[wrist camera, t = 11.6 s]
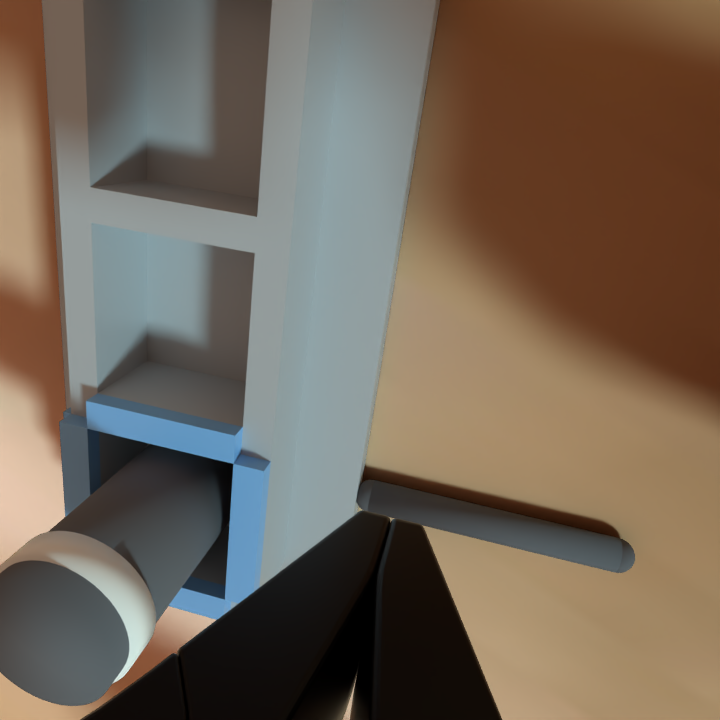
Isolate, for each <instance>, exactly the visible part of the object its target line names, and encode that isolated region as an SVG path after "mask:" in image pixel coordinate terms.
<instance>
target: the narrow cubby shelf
mask: <svg viewBox="0 0 720 720" xmlns="http://www.w3.org/2000/svg"><path fill="white" fill-rule="evenodd" d="M439 4H440V0H42V13H43V30H44V46H45V63H46V80H47V97H48V113H49V130H50V147H51V163H52V180H53V197H54V213H55V230H56V247H57V263H58V280H59V297H60V314H61V330H62V347H63V364H64V380H65V397H66V410H65V411H64V412H63V417H64V419H63V420H61V421H60V422H59V426H60V442H61V457H62V472H63V487H64V503H65V517H66V516H67V515H68V514H69V513H71V512H72V511H73V510H74V509H75V508H76V507H78V506H79V505H80V504H81V503H82V502H83V501H85V500H86V499H87V498H88V497H89V496H90V495H91V494H93V493H94V492H95V491H96V490H97V489H98V488H100V487H101V486H102V485H103V484H104V483H105V482H107V481H108V480H109V479H110V478H111V477H112V476H114V475H115V474H116V473H117V472H118V471H119V470H120V469H122V468H123V467H124V466H125V465H126V464H127V463H129V462H130V461H131V460H132V459H133V458H134V457H136V456H137V455H138V454H139V453H140V452H141V451H142V450H144V449H145V448H146V447H147V446H148V445H149V444H153V445H157V446H161V447H166V448H170V449H174V450H178V451H182V452H186V453H190V454H195V455H199V456H203V457H207V458H211V459H215V460H219V461H223V462H228V463H232V464H233V478H232V494H231V510H230V521H229V523H228V524H227V525H226V527H225V528H224V530H223V531H222V532H221V534H220V535H219V536H218V538H217V539H216V541H215V542H214V543H213V545H212V546H211V548H210V549H209V550H208V552H207V553H206V554H205V556H204V557H203V559H202V560H201V561H200V563H199V564H198V566H197V567H196V568H195V570H194V571H193V572H192V574H191V575H190V577H189V578H188V579H187V581H186V582H185V583H184V585H183V586H182V588H181V589H180V590H179V592H178V593H177V595H176V596H175V597H174V599H173V600H172V601H171V603H170V604H169V606H171V607H174V608H178V609H181V610H185V611H188V612H192V613H195V614H199V615H202V616H206V617H209V618H213V619H219V618H220V617H221V616H223V615H224V614H225V613H227V612H228V611H229V610H230V609H232V608H233V607H234V606H236V605H237V604H238V603H240V602H241V601H242V600H244V599H245V598H246V597H248V596H249V595H250V594H252V593H253V592H254V591H255V590H257V589H258V588H259V587H261V586H262V585H263V584H265V583H266V582H267V581H269V580H270V579H271V578H272V577H274V576H275V575H276V574H278V573H279V572H280V571H282V570H283V569H284V568H286V567H287V566H288V565H289V564H291V563H292V562H293V561H295V560H296V559H297V558H299V557H300V556H301V555H303V554H304V553H305V552H307V551H308V550H309V549H310V548H312V547H313V546H314V545H316V544H317V543H318V542H320V541H321V540H322V539H324V538H325V537H326V536H327V535H329V534H330V533H331V532H333V531H334V530H335V529H337V528H338V527H339V526H341V525H342V524H343V523H344V522H346V521H347V520H348V519H350V518H351V517H352V516H354V515H355V514H356V513H357V510H358V504H357V502H356V498H357V493H358V489H359V486H360V484H361V483H362V479H363V473H364V467H365V461H366V454H367V448H368V442H369V436H370V430H371V424H372V417H373V411H374V405H375V399H376V393H377V387H378V380H379V374H380V368H381V362H382V356H383V350H384V343H385V337H386V331H387V325H388V319H389V313H390V306H391V300H392V294H393V288H394V282H395V276H396V270H397V263H398V257H399V251H400V245H401V239H402V233H403V226H404V220H405V214H406V208H407V202H408V196H409V189H410V183H411V177H412V171H413V165H414V159H415V152H416V146H417V140H418V134H419V128H420V122H421V115H422V109H423V103H424V97H425V91H426V85H427V78H428V72H429V66H430V60H431V54H432V48H433V41H434V35H435V29H436V23H437V17H438V11H439Z"/></svg>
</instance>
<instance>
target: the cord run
mask: <svg viewBox="0 0 720 720" xmlns="http://www.w3.org/2000/svg"><path fill="white" fill-rule="evenodd" d="M356 502H357V504H358V505H359V507H360V508H361V509H363V510H364V511H369V512H373V513H377V514H381V515H385V516H388V517H391V518H396V519H401V520H406V521H410V522H414V523H418V524H421V525H424V526H428V527H432V528H436V529H440V530H444V531H448V532H452V533H456V534H460V535H464V536H468V537H472V538H477V539H481V540H485V541H489V542H493V543H497V544H501V545H505V546H509V547H513V548H517V549H521V550H525V551H530V552H534V553H538V554H542V555H546V556H550V557H554V558H558V559H562V560H566V561H570V562H574V563H578V564H583V565H587V566H591V567H595V568H599V569H603V570H607V571H611V572H616V573H622V572H626V571H627V570H629V569H630V568H631V567H632V566H633V564H634V561H635V554H634V550H633V548H632V547H631V545H630V544H629V543H628V542H626V541H625V540H623V539H620V538H617V537H613V536H608V535H604V534H600V533H596V532H591V531H587V530H583V529H579V528H575V527H570V526H566V525H562V524H558V523H553V522H549V521H545V520H541V519H537V518H532V517H528V516H524V515H520V514H516V513H511V512H507V511H503V510H499V509H494V508H490V507H486V506H482V505H478V504H473V503H469V502H465V501H461V500H456V499H452V498H448V497H444V496H440V495H435V494H431V493H427V492H423V491H419V490H414V489H410V488H406V487H402V486H397V485H393V484H389V483H385V482H381V481H376V480H366V481H364V482H362V483H361V484H360V486H359V489H358V493H357V498H356Z"/></svg>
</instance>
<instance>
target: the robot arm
mask: <svg viewBox="0 0 720 720" xmlns="http://www.w3.org/2000/svg"><path fill="white" fill-rule="evenodd" d="M356 676H357V677H356ZM355 680H356V683H355ZM354 683H355V688H354V694H353V701H352V707H351V715H350V720H502V718H501V715H500V713H499V711H498V708H497V706H496V703H495V701H494V698H493V696H492V693H491V691H490V689H489V686H488V684H487V681H486V679H485V676H484V674H483V671H482V669H481V667H480V664H479V662H478V659H477V657H476V654H475V652H474V649H473V647H472V645H471V642H470V640H469V637H468V635H467V632H466V630H465V627H464V625H463V622H462V620H461V618H460V615H459V613H458V610H457V608H456V605H455V603H454V600H453V598H452V596H451V593H450V591H449V588H448V586H447V583H446V581H445V578H444V576H443V574H442V571H441V569H440V566H439V564H438V561H437V559H436V556H435V554H434V552H433V549H432V547H431V544H430V542H429V539H428V537H427V534H426V532H425V530H424V528H423V526H422V525H421V524H418V523H414V522H410V521H406V520H401V519H396V518H395V519H393V520H392V521H391V523H390V518H389V517H388V516H385V515H381V514H377V513H373V512H369V511H364V510H362V511H359V512H358V513H356V514H355V515H354V516H352V517H351V518H350V519H348V520H347V521H346V522H344V523H343V524H342V525H341V526H339V527H338V528H337V529H335V530H334V531H333V532H331V533H330V534H329V535H327V536H326V537H325V538H324V539H322V540H321V541H320V542H318V543H317V544H316V545H314V546H313V547H312V548H310V549H309V550H308V551H307V552H305V553H304V554H303V555H301V556H300V557H299V558H297V559H296V560H295V561H293V562H292V563H291V564H289V565H288V566H287V567H286V568H284V569H283V570H282V571H280V572H279V573H278V574H276V575H275V576H274V577H272V578H271V579H270V580H269V581H267V582H266V583H265V584H263V585H262V586H261V587H259V588H258V589H257V590H255V591H254V592H253V593H252V594H250V595H249V596H248V597H246V598H245V599H244V600H242V601H241V602H240V603H238V604H237V605H236V606H234V607H233V608H232V609H231V610H229V611H228V612H227V613H225V614H224V615H223V616H221V617H220V618H219V619H217V620H216V621H215V622H214V623H212V624H211V625H210V626H208V627H207V628H206V629H204V630H203V631H202V632H200V633H199V634H198V635H196V636H195V637H194V638H193V639H191V640H190V641H189V642H187V643H186V644H185V645H183V646H182V647H181V648H180V649H179V650H178V653H177V654H175V653H173V654H171V655H170V656H168V657H167V658H166V659H165V660H163V661H162V662H161V663H159V664H158V665H157V666H155V667H154V668H153V669H151V670H150V671H149V672H148V673H146V674H145V675H143V676H142V677H141V678H139V679H138V680H137V681H135V682H134V683H132V684H131V685H130V686H128V687H127V688H125V689H124V690H123V691H121V692H120V693H119V694H117V695H116V696H114V697H113V698H112V699H110V700H109V701H107V702H106V703H105V704H103V705H102V706H101V707H99V708H98V709H96V710H95V711H93V712H91V713H90V714H88V715H87V716H85V717H84V718H82V719H81V720H343V717H344V714H345V712H346V709H347V706H348V703H349V700H350V697H351V694H352V691H353V687H354Z"/></svg>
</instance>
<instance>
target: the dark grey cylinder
mask: <svg viewBox="0 0 720 720" xmlns="http://www.w3.org/2000/svg"><path fill="white" fill-rule="evenodd" d="M232 478H233V464H232V463H228V462H223V461H219V460H215V459H211V458H207V457H203V456H199V455H195V454H190V453H186V452H182V451H178V450H174V449H170V448H166V447H161V446H157V445H153V444H149V445H148V446H147V447H146V448H145V449H144V450H142V451H141V452H140V453H139V454H138V455H137V456H136V457H134V458H133V459H132V460H131V461H130V462H129V463H127V464H126V465H125V466H124V467H123V468H122V469H120V470H119V471H118V472H117V473H116V474H115V475H114V476H112V477H111V478H110V479H109V480H108V481H107V482H105V483H104V484H103V485H102V486H101V487H100V488H98V489H97V490H96V491H95V492H94V493H93V494H91V495H90V496H89V497H88V498H87V499H86V500H85V501H83V502H82V503H81V504H80V505H79V506H78V507H76V508H75V509H74V510H73V511H72V512H71V513H69V514H68V515H67V516H66V517H65V518H64V519H63V520H61V521H60V522H59V523H58V524H57V525H56V526H54V527H53V528H52V529H51V530H50V531H49V532H46V533H43V534H40V535H38V536H36V537H34V538H33V539H31V540H30V541H28V542H27V543H26V544H25V545H24V546H23V547H21V548H20V549H19V550H18V551H17V552H16V553H14V554H13V555H12V556H11V557H10V558H8V559H7V560H6V561H5V562H4V563H3V564H1V565H0V672H1V673H2V674H3V675H4V676H5V677H6V678H8V679H9V680H10V681H11V682H13V683H14V684H15V685H17V686H18V687H20V688H21V689H23V690H24V691H26V692H28V693H30V694H31V695H33V696H35V697H38V698H40V699H42V700H45V701H48V702H51V703H55V704H60V705H67V706H79V705H86V704H89V703H92V702H94V701H96V700H98V699H99V698H100V697H102V696H103V695H104V694H105V692H106V691H107V690H108V689H109V687H110V686H111V684H113V683H114V682H116V681H118V680H120V679H121V678H122V677H123V676H125V674H126V673H127V672H128V671H129V669H130V668H131V667H132V665H133V664H134V662H135V661H136V659H137V658H138V657H139V655H140V654H141V652H142V651H143V650H144V648H145V647H146V645H147V644H148V643H149V641H150V639H151V638H152V636H153V633H154V630H155V625H156V622H157V621H158V619H159V618H160V617H161V615H162V614H163V613H164V611H165V610H166V608H167V607H168V606H169V604H170V603H171V601H172V600H173V599H174V597H175V596H176V595H177V593H178V592H179V590H180V589H181V588H182V586H183V585H184V583H185V582H186V581H187V579H188V578H189V577H190V575H191V574H192V572H193V571H194V570H195V568H196V567H197V566H198V564H199V563H200V561H201V560H202V559H203V557H204V556H205V554H206V553H207V552H208V550H209V549H210V548H211V546H212V545H213V543H214V542H215V541H216V539H217V538H218V536H219V535H220V534H221V532H222V531H223V530H224V528H225V527H226V525H227V524H228V523H229V521H230V510H231V494H232Z"/></svg>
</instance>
